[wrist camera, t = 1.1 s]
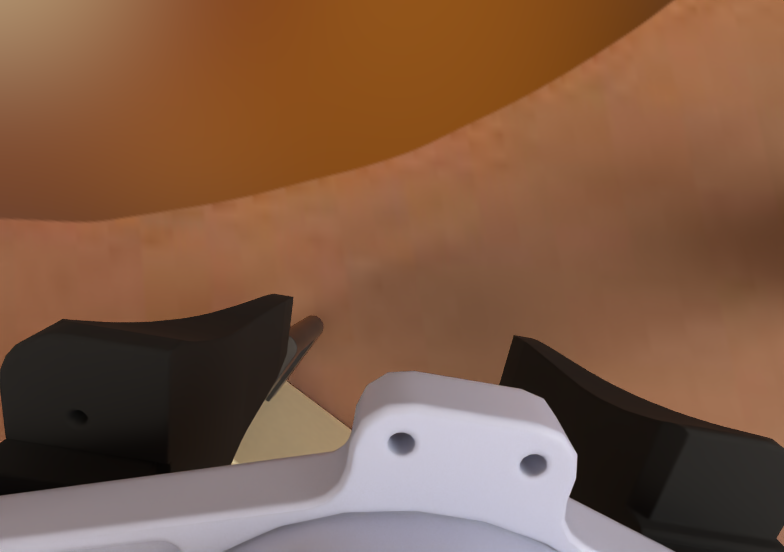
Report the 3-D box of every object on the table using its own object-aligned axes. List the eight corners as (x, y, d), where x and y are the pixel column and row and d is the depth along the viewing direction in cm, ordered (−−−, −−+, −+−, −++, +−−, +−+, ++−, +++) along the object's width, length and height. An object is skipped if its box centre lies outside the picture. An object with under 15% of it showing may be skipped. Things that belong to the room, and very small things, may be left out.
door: (304, 294, 29) (245, 318, 19) (486, 430, 29) (523, 527, 19) (251, 367, 30) (165, 428, 20) (429, 501, 30) (435, 633, 20)
